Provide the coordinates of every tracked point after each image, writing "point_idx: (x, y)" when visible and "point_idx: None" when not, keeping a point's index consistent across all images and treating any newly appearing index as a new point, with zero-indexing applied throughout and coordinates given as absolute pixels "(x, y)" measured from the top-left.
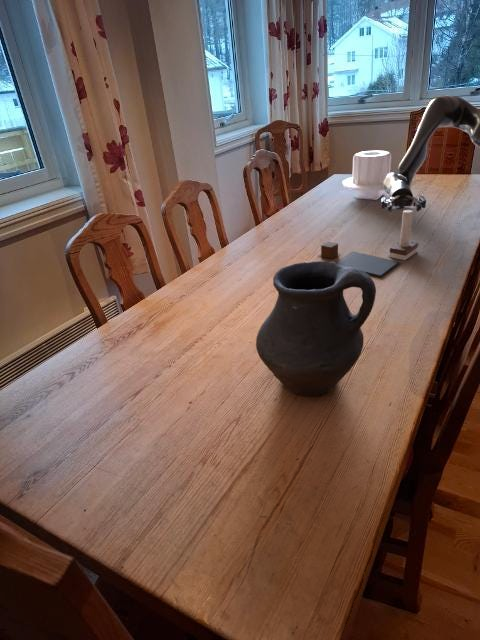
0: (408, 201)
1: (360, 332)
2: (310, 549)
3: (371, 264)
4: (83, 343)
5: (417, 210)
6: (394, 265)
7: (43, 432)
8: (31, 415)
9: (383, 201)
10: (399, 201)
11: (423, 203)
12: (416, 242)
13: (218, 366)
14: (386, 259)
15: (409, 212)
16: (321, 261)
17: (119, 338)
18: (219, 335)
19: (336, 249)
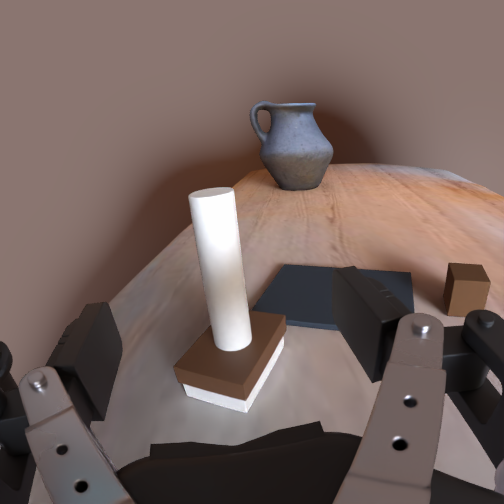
0: (149, 459)
1: (261, 147)
2: (264, 172)
3: (322, 289)
4: (467, 180)
5: (118, 339)
6: (260, 298)
7: (400, 167)
8: (416, 168)
9: (479, 315)
10: (301, 430)
11: (13, 398)
12: (180, 367)
13: (366, 182)
14: (289, 317)
15: (205, 189)
16: (291, 103)
17: (456, 183)
18: (398, 190)
19: (450, 290)
